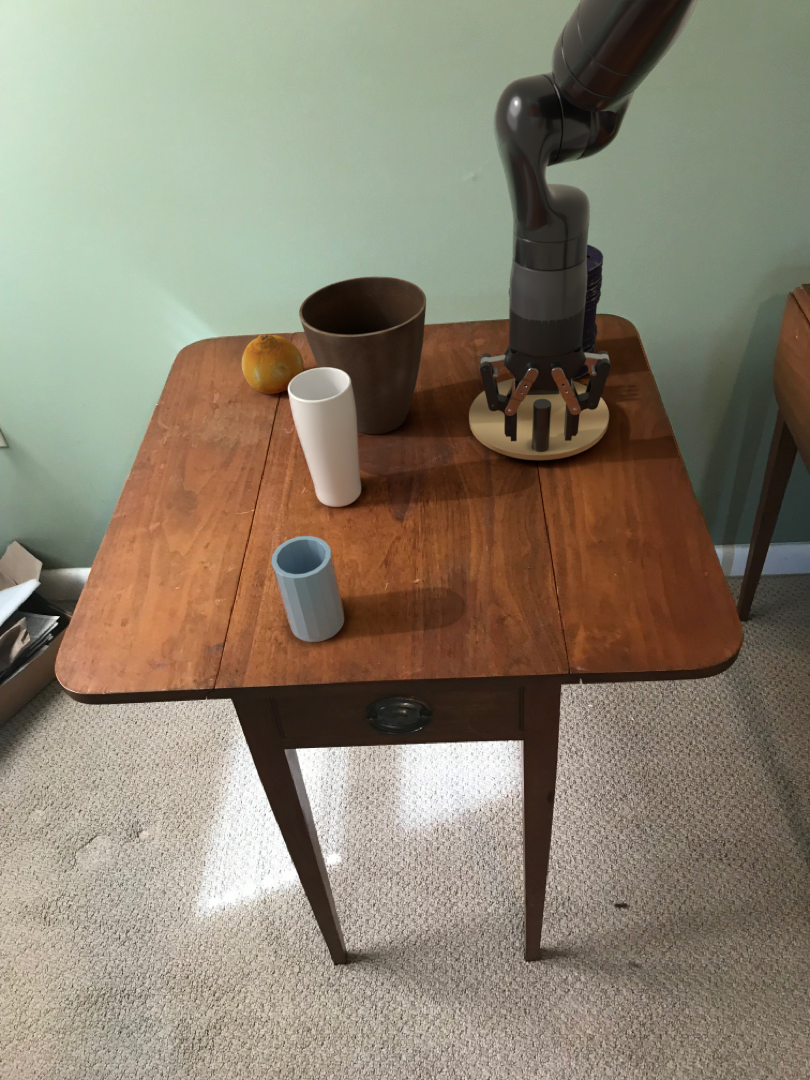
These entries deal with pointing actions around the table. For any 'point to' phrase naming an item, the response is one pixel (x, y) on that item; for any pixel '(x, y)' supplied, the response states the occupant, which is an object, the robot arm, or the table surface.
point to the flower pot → (370, 343)
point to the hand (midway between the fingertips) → (540, 436)
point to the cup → (309, 588)
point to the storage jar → (591, 303)
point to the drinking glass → (328, 432)
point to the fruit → (271, 363)
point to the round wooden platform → (537, 425)
